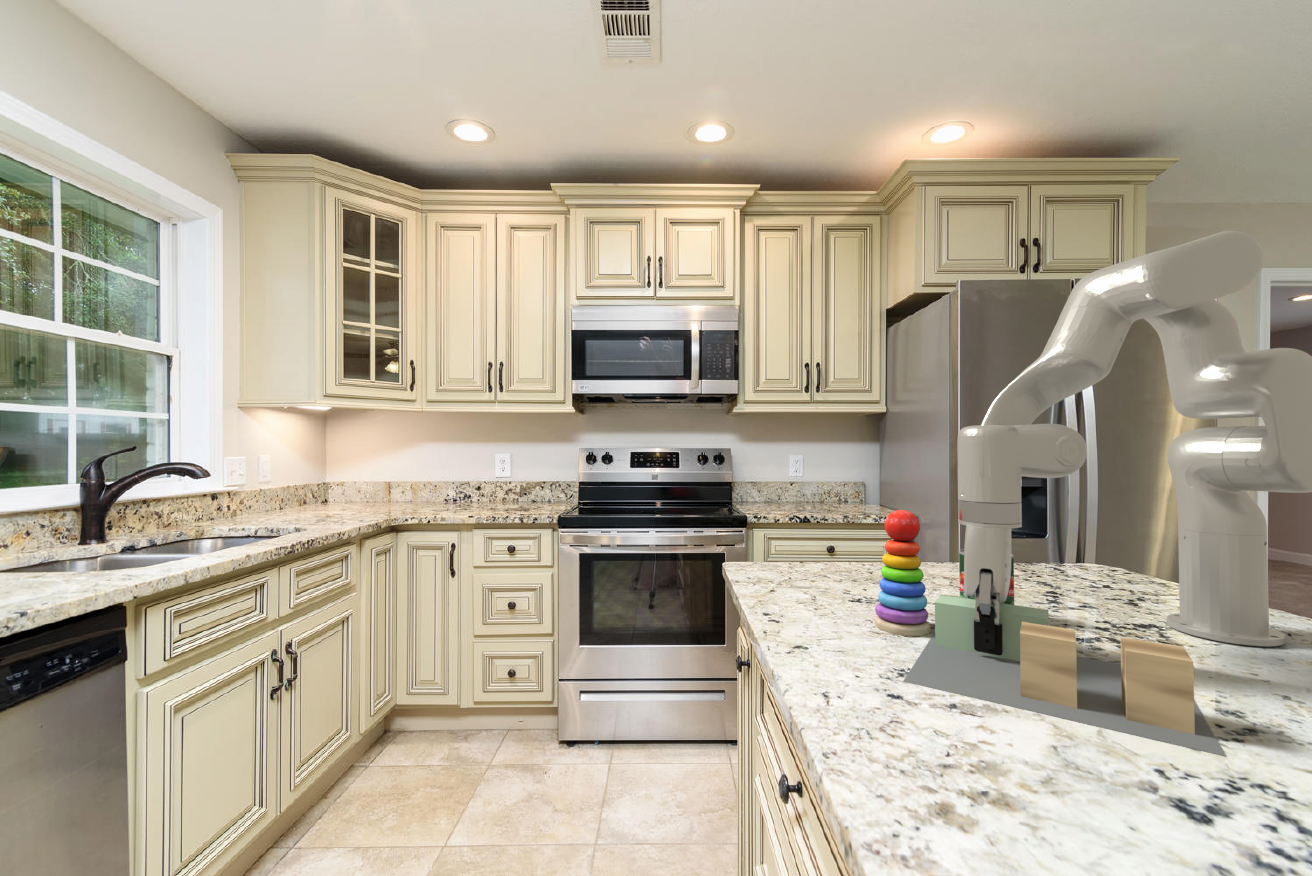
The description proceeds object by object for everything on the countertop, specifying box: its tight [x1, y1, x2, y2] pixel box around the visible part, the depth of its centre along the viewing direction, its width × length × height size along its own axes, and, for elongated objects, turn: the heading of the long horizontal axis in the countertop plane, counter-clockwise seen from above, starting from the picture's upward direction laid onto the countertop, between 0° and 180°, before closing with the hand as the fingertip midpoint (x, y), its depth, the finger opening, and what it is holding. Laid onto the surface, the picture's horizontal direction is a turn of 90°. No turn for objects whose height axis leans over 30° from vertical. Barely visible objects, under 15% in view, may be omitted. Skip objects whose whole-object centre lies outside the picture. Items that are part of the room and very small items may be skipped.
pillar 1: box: [1020, 622, 1077, 708], centre depth 62 cm, size 5×5×7 cm
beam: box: [934, 594, 1050, 661], centre depth 75 cm, size 5×13×6 cm, turn 54°
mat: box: [903, 632, 1227, 758], centre depth 66 cm, size 22×27×1 cm
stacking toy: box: [873, 509, 932, 637], centre depth 85 cm, size 8×8×19 cm
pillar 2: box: [1120, 636, 1195, 735], centre depth 56 cm, size 5×5×7 cm
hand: (990, 643), depth 75 cm, fingers open, 6 cm apart
